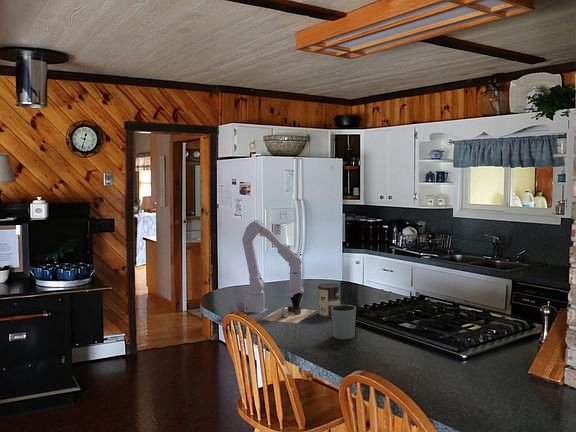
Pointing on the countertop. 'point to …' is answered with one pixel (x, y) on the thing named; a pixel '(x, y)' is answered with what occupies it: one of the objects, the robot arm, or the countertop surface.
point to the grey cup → (343, 321)
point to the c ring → (294, 309)
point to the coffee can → (328, 298)
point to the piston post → (284, 312)
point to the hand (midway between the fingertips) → (296, 308)
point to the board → (291, 316)
